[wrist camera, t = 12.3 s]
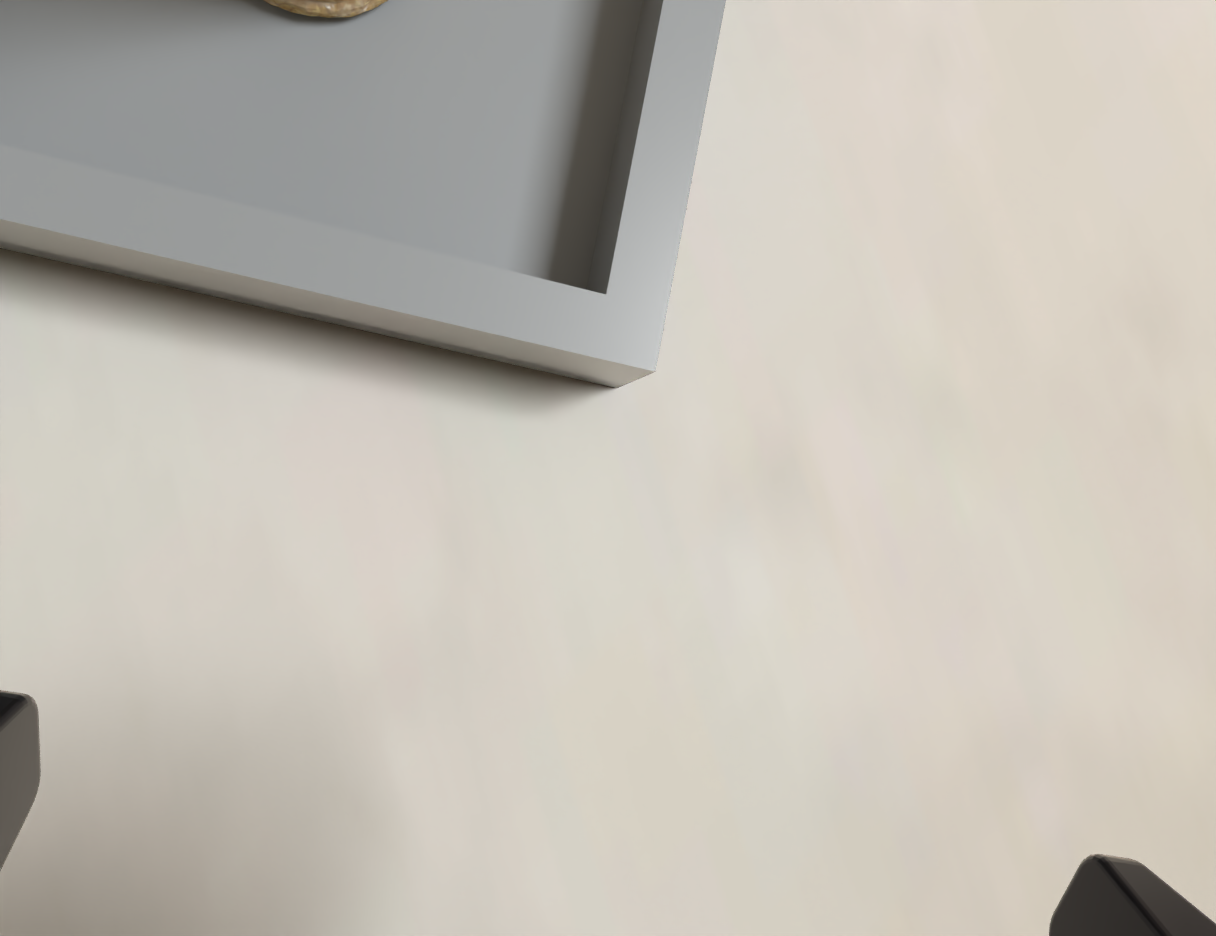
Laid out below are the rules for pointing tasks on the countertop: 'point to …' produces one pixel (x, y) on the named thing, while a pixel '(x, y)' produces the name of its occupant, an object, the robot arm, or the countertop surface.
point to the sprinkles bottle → (327, 7)
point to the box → (371, 162)
